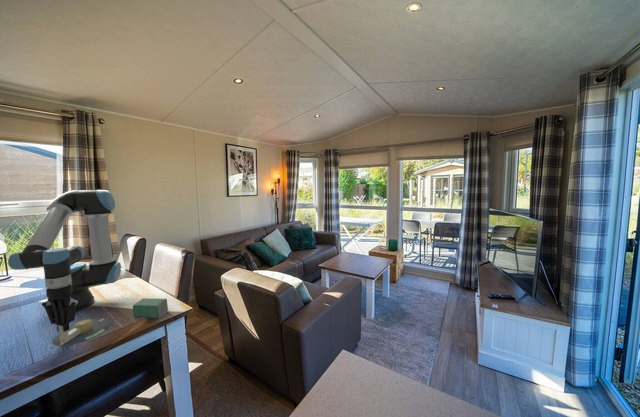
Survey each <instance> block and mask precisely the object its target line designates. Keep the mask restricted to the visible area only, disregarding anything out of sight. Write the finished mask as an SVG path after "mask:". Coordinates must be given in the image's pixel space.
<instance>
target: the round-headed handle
mask: <svg viewBox="0 0 640 417" xmlns="http://www.w3.org/2000/svg"><path fill="white" fill-rule="evenodd" d="M92 320H93V319H89V318H88V319H82V320H80V321H78V322H76V323H74V325H73V326H74V329H73V330H71V331H70V332H68V333H67V334H66V335H64V336H62V337H60V343H67V342H68V341H69V340H71V339H72V338H74V337H75V336H77V335H83V334H86V333H88V332H90V331H91V330H92V329H93V326H92Z"/></svg>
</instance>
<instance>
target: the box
mask: <svg viewBox="0 0 640 417" xmlns="http://www.w3.org/2000/svg"><path fill="white" fill-rule="evenodd" d="M167 311H168V312H169V308H168V299H167V298H152V297H151V298H149V297H148V298H142V299H139V301H137V302H136V303H134V304H133V305H132V313H133V317H145V319H160V317H161V316H162V317H163V316H164V315H166V314H167V313H168V312H167ZM166 312H167V313H166ZM165 313H166V314H165ZM162 317H161V318H162Z"/></svg>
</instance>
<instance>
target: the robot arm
mask: <svg viewBox="0 0 640 417" xmlns="http://www.w3.org/2000/svg"><path fill="white" fill-rule="evenodd" d="M115 208H116V202H115V199H114V195H113V194H112V193H111V192H110V191H109V190H106V189H87V190H84V189H83V190H79V189H77V190H69V191H66V192H64V193H61V194H60V195H58V196H56V197H55V198H54V199H53V200H52V201H50V202H49V204H48V205H47V206H46V213H45V215H44V217H43V218H42V220H41V221H40V223H39V225H38V226H37V228H36V229H35V232H34V233H32V236H31V237H30V239H29V241H28V242H27V243H26V246H25V247H24V248H23V250H22V251H18V252H17V251H16V252H13V253H12V254H10V255H9V256H8V259H7V265H8V267H9V268H10V269H11V270H14V271H18V270H19V271H21V270H22V271H23V270H30V269H39V268H40V269H41V268H43V273H44V274H43V275H44V280H45V281H44V284H45V294H46V297H47V300H46V301H43V302H42V303H41V306H42V307H43V308H44V310H45V312H46V315H47V316H48V320H49V322H50V324H51V325H54V324H55V325H56V328H57V332H58V334H59V336H60V337H62V336H64V335H66V334H67V333H68V330H69V329H70V328H69V327H70V323H72V322H73V321H75V317H76V312H77V311H79V310H83V309H85V308H87V307H90V306H91V305H93V304H94V303H95V301H96V300H95V296H94V295H93V293H92V291H91V290H90V288H89V287H95V286H102V285H109V284H113V283H116V282H118V280H119V278H120V276H121V272H122V264H121V263H120V262H119V261H117V259H116V257H113V250H112V242H111V231H110V223H109V222H110V220H109V216H110V215H111V214H112V211H113V210H115ZM76 212H79V213H80V212H83V216H84V217H86V218H87V224H88V232H89V241H90V250H91V261H90V262H89V263H88V265H87V264H86V262H80V261H81V260H82V259H83V258H84V256H85V254H86V251H85V249H84V248H83V247H81V246H80V245H71V246H67V247H56V248H52V246H53V245H54V243H55V241H56V239H57V237H58V235H59V234H60V232H61V230H62V228H63V226H64V225H65V223H66V221H67V219H68V218H70V217H71V216H72V215H73V214H74V213H76Z"/></svg>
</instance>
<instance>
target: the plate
mask: <svg viewBox="0 0 640 417" xmlns="http://www.w3.org/2000/svg"><path fill="white" fill-rule="evenodd" d="M91 320H92V326H93V329H92V330H91V331H90V332H88V333H86V334H83V335H77V336H75V337H74V338H72V339H71V340H69V341H68V342H67V343H60V336H59V333H58V334H56V335H55V336H54V337H53V338H52V341H51V343H52V344H53V345H54V346H56V347H57V346H58V347H64V346H72V345H77V344H80V343H84V342H88V341H89V340H92V339H94V338H96V337H98V336H100V335H102V334H103V333H106V332H107V331H108V330H109V329H110V328H111V326H113V321H112V320H111V319H109V318H96V319H91ZM69 328H70V329H69V330H68V332H70V331H71V330H73V329H74V325H72V326H69Z"/></svg>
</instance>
